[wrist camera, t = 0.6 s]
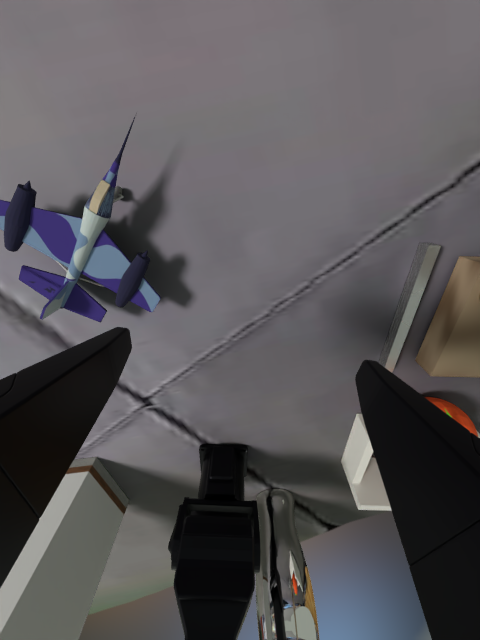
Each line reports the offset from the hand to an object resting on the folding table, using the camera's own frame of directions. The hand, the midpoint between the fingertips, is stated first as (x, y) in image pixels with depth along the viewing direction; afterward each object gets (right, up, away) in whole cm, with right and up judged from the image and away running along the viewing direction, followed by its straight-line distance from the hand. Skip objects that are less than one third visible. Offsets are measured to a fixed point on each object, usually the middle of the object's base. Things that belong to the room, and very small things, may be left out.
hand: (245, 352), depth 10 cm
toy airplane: (-12, +9, +12) cm, 19 cm away
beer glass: (+5, -27, +31) cm, 41 cm away
